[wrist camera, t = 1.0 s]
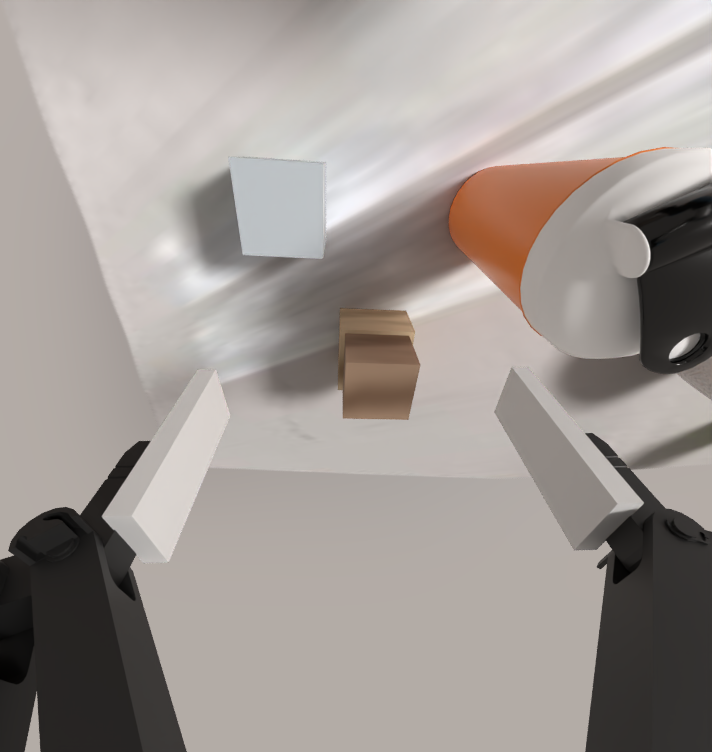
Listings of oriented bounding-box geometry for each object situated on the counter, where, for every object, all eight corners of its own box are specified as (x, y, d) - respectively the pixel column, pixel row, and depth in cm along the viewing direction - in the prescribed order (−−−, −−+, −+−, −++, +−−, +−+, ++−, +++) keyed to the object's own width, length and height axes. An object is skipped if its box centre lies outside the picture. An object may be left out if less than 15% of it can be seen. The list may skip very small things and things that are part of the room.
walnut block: (345, 333, 28) (345, 362, 24) (409, 335, 29) (420, 364, 25) (342, 384, 32) (342, 418, 28) (399, 386, 32) (408, 419, 28)
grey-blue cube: (250, 156, 24) (228, 156, 20) (326, 162, 25) (322, 163, 20) (259, 237, 28) (242, 255, 23) (326, 241, 28) (323, 259, 23)
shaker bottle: (460, 282, 31) (593, 421, 15) (420, 199, 27) (546, 266, 10) (550, 227, 28) (834, 323, 12) (522, 124, 24) (911, 54, 8)
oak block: (339, 307, 32) (339, 329, 28) (405, 310, 33) (415, 332, 29) (338, 363, 36) (337, 389, 32) (396, 365, 37) (403, 391, 33)
